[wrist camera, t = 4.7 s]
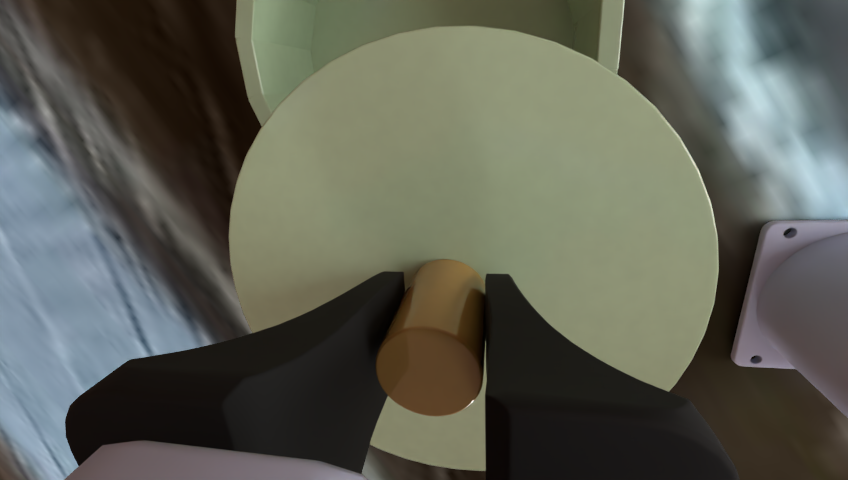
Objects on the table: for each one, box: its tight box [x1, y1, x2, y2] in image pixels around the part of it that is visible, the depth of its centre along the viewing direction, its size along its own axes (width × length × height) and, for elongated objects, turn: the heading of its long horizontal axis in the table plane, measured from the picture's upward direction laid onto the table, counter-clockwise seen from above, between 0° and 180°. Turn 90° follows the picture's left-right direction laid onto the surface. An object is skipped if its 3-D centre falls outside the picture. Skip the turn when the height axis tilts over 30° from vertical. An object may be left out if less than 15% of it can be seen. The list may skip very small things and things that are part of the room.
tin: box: [235, 0, 625, 126], centre depth 16 cm, size 13×13×6 cm
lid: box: [229, 26, 719, 471], centre depth 11 cm, size 14×14×5 cm
